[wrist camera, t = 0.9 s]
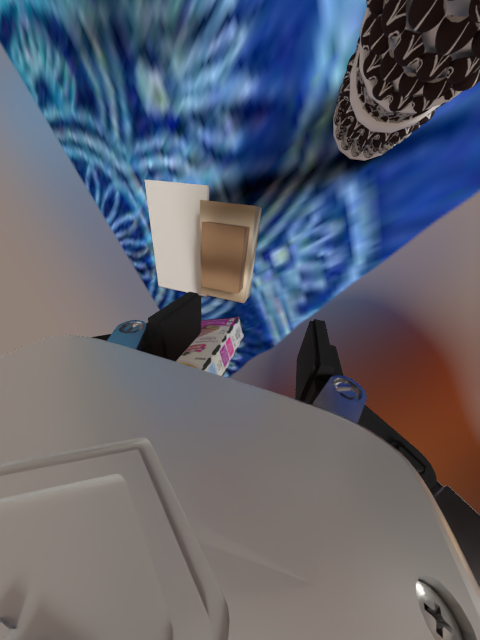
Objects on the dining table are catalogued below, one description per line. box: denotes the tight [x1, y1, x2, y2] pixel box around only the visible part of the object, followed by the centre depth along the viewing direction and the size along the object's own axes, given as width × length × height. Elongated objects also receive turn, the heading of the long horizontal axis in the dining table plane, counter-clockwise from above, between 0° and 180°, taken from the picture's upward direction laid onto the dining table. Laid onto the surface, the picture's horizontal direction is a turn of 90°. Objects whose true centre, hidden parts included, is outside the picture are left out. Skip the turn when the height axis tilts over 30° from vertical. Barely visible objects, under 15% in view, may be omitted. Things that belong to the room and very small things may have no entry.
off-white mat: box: [145, 180, 209, 297], centre depth 33 cm, size 18×11×1 cm, turn 174°
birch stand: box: [200, 200, 262, 303], centre depth 30 cm, size 14×8×4 cm, turn 174°
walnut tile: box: [202, 222, 250, 294], centre depth 27 cm, size 9×6×2 cm, turn 174°
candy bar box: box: [176, 317, 244, 376], centre depth 33 cm, size 11×5×16 cm, turn 104°
